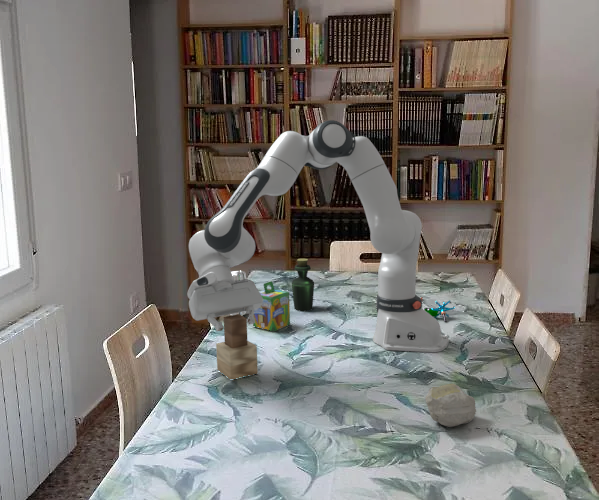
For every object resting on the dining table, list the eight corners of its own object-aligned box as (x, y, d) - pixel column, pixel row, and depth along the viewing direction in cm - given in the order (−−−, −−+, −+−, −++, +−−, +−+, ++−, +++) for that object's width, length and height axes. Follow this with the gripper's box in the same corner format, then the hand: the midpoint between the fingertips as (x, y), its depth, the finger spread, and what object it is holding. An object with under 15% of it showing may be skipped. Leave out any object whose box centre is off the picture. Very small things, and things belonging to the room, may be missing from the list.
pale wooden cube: (243, 365, 185) (242, 337, 184) (257, 374, 179) (256, 345, 177) (217, 371, 181) (216, 343, 180) (230, 381, 175) (229, 351, 173)
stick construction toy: (455, 309, 226) (451, 295, 221) (459, 325, 221) (456, 311, 216) (420, 318, 229) (415, 304, 223) (424, 334, 224) (419, 321, 218)
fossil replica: (485, 419, 150) (445, 412, 156) (485, 383, 149) (444, 377, 155) (461, 436, 141) (419, 426, 147) (460, 397, 140) (418, 389, 146)
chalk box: (273, 332, 213) (272, 287, 210) (251, 327, 219) (250, 283, 216) (291, 325, 220) (290, 281, 217) (269, 320, 226) (268, 278, 223)
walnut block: (239, 340, 181) (238, 314, 180) (247, 345, 178) (246, 318, 176) (224, 343, 179) (223, 317, 178) (232, 348, 175) (231, 321, 174)
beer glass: (246, 317, 230) (244, 275, 227) (226, 317, 230) (224, 275, 227) (248, 311, 237) (246, 270, 234) (228, 312, 237) (227, 270, 234)
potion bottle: (312, 312, 234) (311, 262, 230) (289, 311, 235) (288, 261, 232) (316, 306, 241) (315, 257, 238) (294, 305, 243) (293, 257, 240)
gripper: (248, 284, 191) (266, 325, 185) (181, 295, 180) (198, 339, 174) (255, 271, 186) (274, 313, 180) (187, 282, 175) (204, 327, 169)
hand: (236, 326), depth 177 cm, fingers open, 8 cm apart
